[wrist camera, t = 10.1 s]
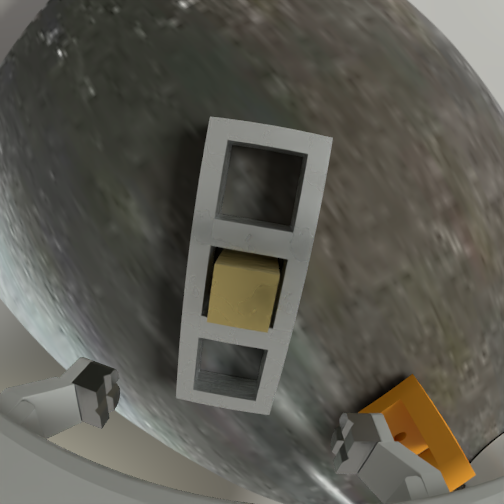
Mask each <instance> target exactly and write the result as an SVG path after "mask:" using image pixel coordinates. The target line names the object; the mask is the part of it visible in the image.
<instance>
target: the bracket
mask: <svg viewBox="0 0 504 504" xmlns="http://www.w3.org/2000/svg"><path fill="white" fill-rule="evenodd" d="M358 413H368V414H369V413H382V414H383V415H384V418H385V420H386V422H387V425H388V427H389V429H390V432H391V434H392V437H393V439H394V441H395V442H396V441H398V442H399V443H401V444H402V445H404V446H405V447H406V448H408V449H409V450H410V451H412V452H413V453H415V454H416V455H417V454H419V453H420V452H422V451H423V452H422V453H420V454H419V455H418V456H419V457H420V458H422V459H423V460H425V461H426V462H427V463H429V464H430V465H432V466H433V467H435V468H436V469H438V470H439V471H440V472H441V474H442V476H443V478H444V480H445V483H446V485H447V487H448V489H449V491H450V492H452V491H453V490H455V489H456V488H458V487H459V486H461V485H462V484H464V483H465V482H467V481H468V480H469V479H471V478H472V477H474V476H475V475H476V474H475V472H474V470H473V468H472V467H471V465H470V463H469V461H468V459H467V458H466V456H465V454H464V452H463V451H462V449H461V447H460V445H459V444H458V442H457V440H456V438H455V437H454V435H453V433H452V432H451V430H450V428H449V427H448V425H447V424H446V422H445V420H444V419H443V417H442V416H441V414H440V413H439V411H438V410H437V408H436V407H435V405H434V404H433V402H432V401H431V399H430V398H429V396H428V395H427V393H426V392H425V391H424V389H423V388H422V386H421V385H420V383H419V382H418V381H417V379H416V378H415V376H414V375H413V374H412V375H410V376H409V377H408V378H406V379H405V380H404V381H402V382H401V383H400V384H398V385H397V386H396V387H394V388H393V389H392V390H390V391H389V392H387V393H386V394H384V395H383V396H382V397H380V398H379V399H377V400H376V401H374V402H373V403H371V404H370V405H368V406H367V407H365V408H364V409H362V410H361V411H359V412H358ZM428 447H429V448H428ZM427 448H428V449H427ZM425 449H426V450H425ZM424 450H425V451H424Z"/></svg>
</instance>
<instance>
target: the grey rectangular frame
mask: <svg viewBox="0 0 504 504" xmlns="http://www.w3.org/2000/svg"><path fill="white" fill-rule="evenodd" d="M332 140H333V138H331V137H327V136H322V135H318V134H313V133H308V132H304V131H299V130H294V129H288V128H283V127H278V126H272V125H266V124H260V123H254V122H247V121H240V120H233V119H226V118H218V117H210V120H209V125H208V130H207V136H206V142H205V147H204V153H203V159H202V165H201V171H200V177H199V183H198V190H197V196H196V203H195V210H194V217H193V224H192V231H191V239H190V247H189V255H188V263H187V272H186V281H185V290H184V300H183V310H182V321H181V332H180V344H179V358H178V372H177V389H176V398H179V399H183V400H187V401H192V402H196V403H201V404H206V405H211V406H216V407H221V408H227V409H233V410H239V411H245V412H252V413H259V414H266V415H269V414H270V410H271V407H272V404H273V400H274V397H275V393H276V390H277V386H278V383H279V379H280V376H281V372H282V368H283V365H284V361H285V357H286V353H287V350H288V346H289V342H290V338H291V334H292V331H293V327H294V323H295V319H296V315H297V311H298V306H299V302H300V298H301V294H302V290H303V285H304V281H305V277H306V272H307V268H308V264H309V259H310V255H311V250H312V245H313V241H314V236H315V231H316V226H317V221H318V217H319V212H320V207H321V201H322V196H323V191H324V186H325V180H326V175H327V169H328V164H329V158H330V152H331V146H332ZM232 145H237V146H244V147H250V148H256V149H262V150H268V151H273V152H279V153H284V154H289V155H295V156H300V157H303V159H302V165H301V170H300V176H299V181H298V187H297V192H296V198H295V203H294V208H293V213H292V219H291V224H290V226H287V225H282V224H277V223H271V222H266V221H260V220H254V219H249V218H243V217H237V216H231V215H225V214H221V210H222V204H223V198H224V192H225V186H226V180H227V174H228V168H229V162H230V156H231V151H232ZM216 247H221V248H227V249H232V250H238V251H244V252H249V253H255V254H260V255H266V256H272V257H277V258H283V264H282V269H281V274H280V279H279V283H278V288H277V293H276V297H275V302H274V307H273V311H272V315H271V320H270V324H269V329H268V333H266V332H259V331H253V330H248V329H242V328H236V327H231V326H225V325H220V324H215V323H209V322H207V317H208V309H209V301H210V300H208V299H209V292H210V285H211V277H212V270H213V263H214V256H215V250H216ZM204 338H205V339H210V340H215V341H220V342H225V343H231V344H236V345H242V346H248V347H254V348H260V349H264V352H263V356H262V361H261V365H260V369H259V374H258V378H257V380H252V379H246V378H240V377H234V376H229V375H223V374H218V373H213V372H208V371H203V370H200V364H201V355H202V347H203V339H204Z"/></svg>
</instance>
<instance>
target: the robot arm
mask: <svg viewBox="0 0 504 504" xmlns="http://www.w3.org/2000/svg"><path fill="white" fill-rule="evenodd" d="M118 379H119V374H118V371H117V370H116V369H114V368H111V367H108V366H106V365H103V364H100V363H98V362H95V361H92V360H89V359H87V358H84V357H81V358H79V359H78V360H77V361H76V362H75V363H74V364H73V365H72V366H71V367H70V368H69V369H68V370H67V371H66V372H65V373H64V374H63V375H62V376H61V377H60V378H58V377H53V378H48V379H44V380H40V381H36V382H31V383H27V384H23V385H18V386H14V387H9V388H6V389H4V391H2V392H1V393H0V504H253V503H245V502H238V501H231V500H225V499H219V498H214V497H208V496H203V495H198V494H194V493H189V492H185V491H181V490H177V489H173V488H169V487H166V486H162V485H158V484H155V483H152V482H148V481H145V480H141V479H139V478H136V477H133V476H130V475H127V474H124V473H121V472H119V471H116V470H113V469H111V468H108V467H105V466H103V465H100V464H98V463H96V462H93V461H91V460H88V459H86V458H84V457H82V456H79V455H77V454H75V453H73V452H71V451H69V450H66V449H64V448H62V447H60V446H58V445H56V444H54V443H52V442H50V441H49V440H47V438H49V437H52V436H54V435H56V434H58V433H60V432H62V431H64V430H67V429H69V428H71V427H73V426H75V425H77V424H79V423H81V422H82V421H83V422H85V423H88V424H90V425H93V426H96V427H98V428H101V429H102V428H103V426H104V425H105V423H106V422H107V420H108V419H109V412H111V411H114V410H115V408H116V406H117V404H118V401H119V397H120V388H119V386H118V385H117V383H116V382H117V381H118ZM339 422H340V426H338V427H337V428H335V430H334V432H333V434H332V439H331V450H332V452H333V453H334V454H335V455H336V456H335V458H334V460H333V462H334V467H335V473H336V474H357V475H358V476H359V478H360V479H361V480H362V481H363V482H364V483H365V484H366V485H367V486H368V488H369V489H370V490H371V491H372V492H373V493H374V494H375V495H376V496H377V497H378V498H379V499H380V501H381V502H382V503H383V504H504V433H503V434H502V435H501V436H499V437H498V438H497V439H495V440H494V441H493V442H492V443H491V444H489V445H488V446H487V447H486V448H485V449H484V450H483V451H482V452H481V453H480V454H479V455H478V456H477V457H476V458H475V459H474V460H473V461H472V462H471V463H470V465H471V467H472V468H473V470H474V472H475V474H476V475H475V476H474V477H472V478H471V479H469V480H468V481H467V482H465V483H464V484H465V485H466V486H465V488H464V489H461V490H457V491H453V492H450V491H449V489H448V487H447V485H446V483H445V480H444V478H443V476H442V474H441V472H440V471H439V470H438V469H436V468H435V467H433V466H432V465H430V464H429V463H427V462H426V461H425V460H423V459H422V458H420V457H419V456H418V455H416V454H415V453H413V452H412V451H410V450H409V449H408V448H406V447H405V446H404V445H402V444H401V443H399V442H398V441H396V442H395V441H394V439H393V437H392V434H391V432H390V429H389V427H388V425H387V422H386V420H385V418H384V415H383V414H382V413H369V414H368V413H345V412H344V413H343V414H342V415H341V417H340V419H339Z"/></svg>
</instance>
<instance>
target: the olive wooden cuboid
mask: <svg viewBox="0 0 504 504" xmlns="http://www.w3.org/2000/svg"><path fill="white" fill-rule="evenodd" d="M279 277H280V272H279V265H278V258H277V257H272V256H266V255H260V254H255V253H249V252H244V251H238V250H232V249H227V248H224V249H223V251H222V252H221V254H220V256H219V257H218V259H217V261H216V262H215V265H214V272H213V279H212V286H211V294H210V301H209V309H208V317H207V322H209V323H215V324H220V325H225V326H231V327H236V328H242V329H248V330H253V331H259V332H266V333H268V329H269V324H270V320H271V315H272V310H273V306H274V301H275V296H276V292H277V287H278V282H279Z"/></svg>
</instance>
